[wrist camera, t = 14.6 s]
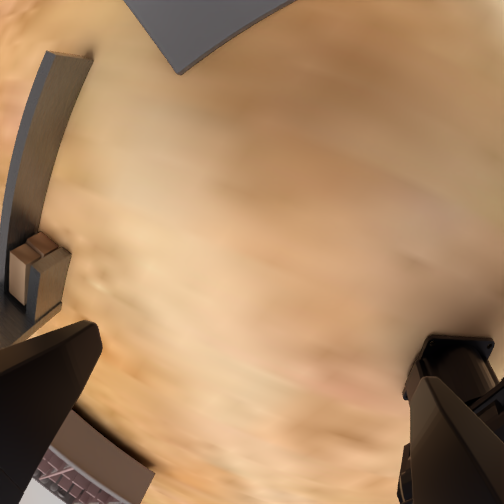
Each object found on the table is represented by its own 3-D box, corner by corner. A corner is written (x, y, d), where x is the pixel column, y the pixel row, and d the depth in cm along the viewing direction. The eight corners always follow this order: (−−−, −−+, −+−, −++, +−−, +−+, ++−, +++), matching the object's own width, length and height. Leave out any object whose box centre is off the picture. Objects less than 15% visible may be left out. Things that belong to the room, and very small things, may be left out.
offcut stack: (59, 246, 24) (28, 264, 21) (51, 287, 26) (24, 306, 23) (41, 231, 24) (10, 246, 21) (34, 272, 26) (7, 290, 23)
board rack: (138, 81, 18) (-14, 68, 7) (60, 310, 27) (-22, 382, 16) (82, 55, 18) (-55, 44, 7) (21, 276, 27) (-61, 333, 16)
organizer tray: (-39, 259, 30) (-90, 289, 21) (166, 468, 35) (139, 524, 26) (-43, 351, 43) (-71, 375, 34) (92, 484, 48) (72, 517, 39)
